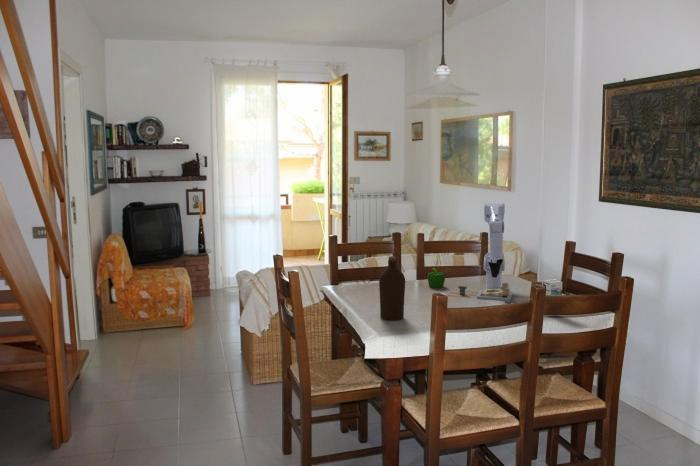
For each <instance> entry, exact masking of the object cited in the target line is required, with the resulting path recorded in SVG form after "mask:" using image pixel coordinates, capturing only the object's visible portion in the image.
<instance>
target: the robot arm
mask: <svg viewBox="0 0 700 466" xmlns="http://www.w3.org/2000/svg"><path fill="white" fill-rule="evenodd" d="M483 206H484V207H483V218H484V221H485V222H486V223H487V224H488V228H489V229H488V231H489V251H488V252H487V253H486V254H485V255H484V257H483V271H485V273H486V274H485V276H486V277H485V289H502V273H503V272H504V271H505V268H506V260H505V255H504V254H503V248H504V247H503V245H504V244H503V243H504V242H503V241H504V234H505V233H504V232H505V223H504V222H505V221H504V219H505V210H506V209H505V203H503V202H502V203H496V202H495V203H493V202H492V203H486V202H485V203H484V205H483Z"/></svg>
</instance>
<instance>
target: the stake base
mask: <svg viewBox="0 0 700 466" xmlns="http://www.w3.org/2000/svg"><path fill="white" fill-rule="evenodd" d="M457 288H458V289H459V290H453V289H452V290H451V291H450V293H449V294H448V295H447V297H457V298H458V297H459V298H467V299H468V298H469V299H471V298H472V299H474V298H475V297H477V295H478V293H479V292H478V291H466V290H467V285H458V287H457Z"/></svg>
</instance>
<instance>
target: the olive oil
mask: <svg viewBox="0 0 700 466" xmlns="http://www.w3.org/2000/svg"><path fill="white" fill-rule="evenodd" d="M387 265H388V266H387V267H386V268H385V269H384V270H383V271H382V272H381V274H380V275H379V279H378V284H379V286H378V287H379V288H378V289H379V310H380V312H379V314H380V319H382V320H385V321H401V320H403V319H404V313H405V295H406V294H405V291H406V277H405V275H404V273H403V272H402V271H401V270H400V269H399V268H398V266H397V257H396V256H395V255H394V256H392V255H391V256H388V260H387Z"/></svg>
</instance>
